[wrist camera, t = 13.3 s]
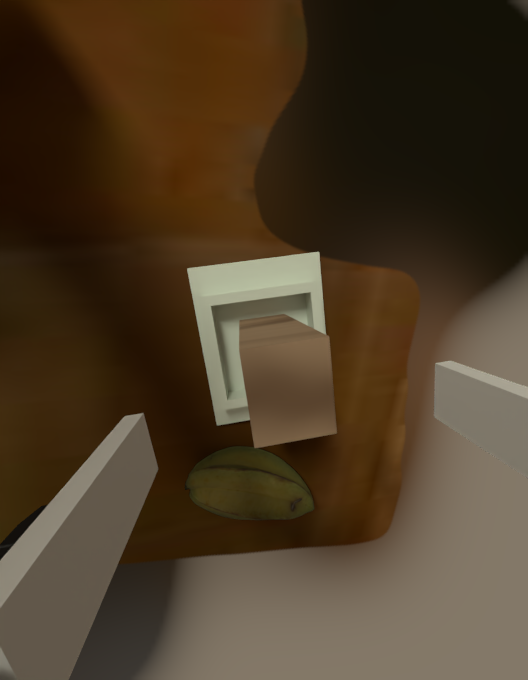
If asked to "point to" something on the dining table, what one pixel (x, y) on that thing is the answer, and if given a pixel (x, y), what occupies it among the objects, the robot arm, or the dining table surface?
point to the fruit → (248, 485)
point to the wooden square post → (286, 380)
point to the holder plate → (249, 315)
